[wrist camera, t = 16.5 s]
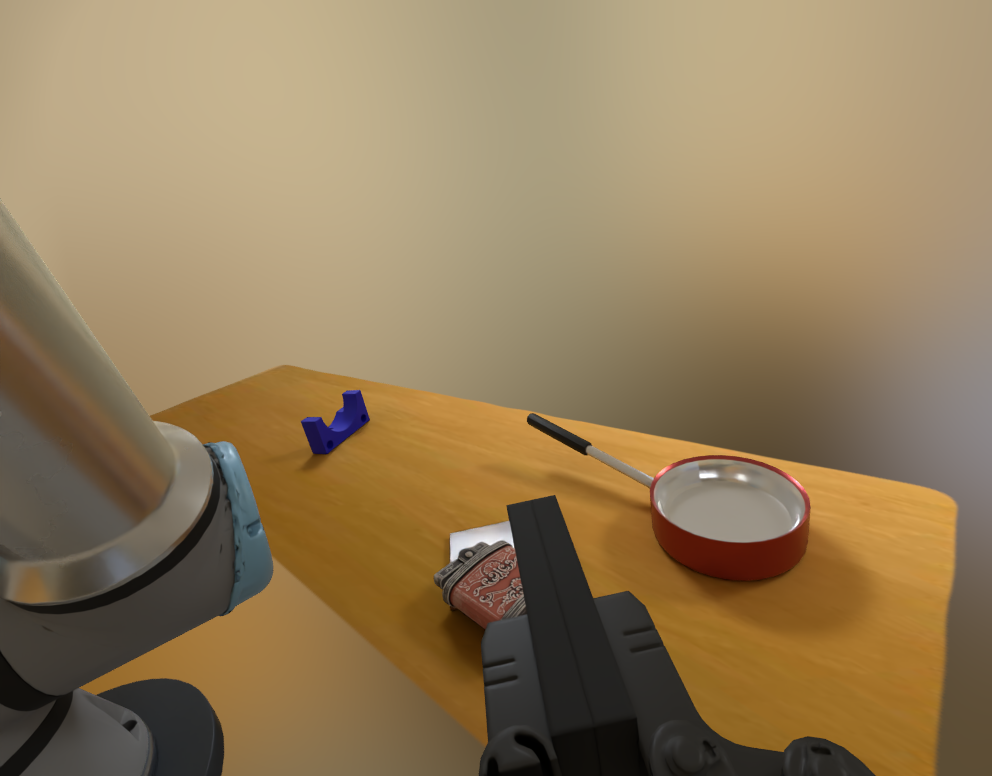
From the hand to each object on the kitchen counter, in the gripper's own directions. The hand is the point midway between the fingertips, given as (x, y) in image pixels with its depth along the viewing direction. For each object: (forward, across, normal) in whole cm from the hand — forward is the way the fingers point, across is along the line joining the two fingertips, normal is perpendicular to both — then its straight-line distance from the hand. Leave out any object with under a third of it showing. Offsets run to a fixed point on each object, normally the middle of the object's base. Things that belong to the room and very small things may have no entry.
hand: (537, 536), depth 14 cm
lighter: (+16, 0, -21) cm, 26 cm away
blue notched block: (+64, -28, -24) cm, 74 cm away
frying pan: (+30, +13, -23) cm, 40 cm away
